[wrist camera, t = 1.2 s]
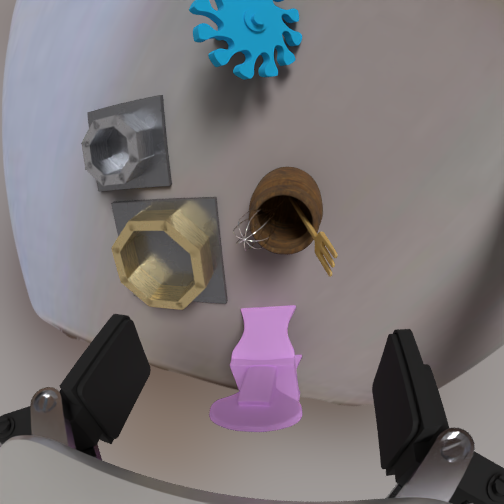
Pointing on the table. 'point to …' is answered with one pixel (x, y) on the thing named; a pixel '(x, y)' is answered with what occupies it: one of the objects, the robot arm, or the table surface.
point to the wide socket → (170, 251)
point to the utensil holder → (288, 215)
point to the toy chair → (262, 375)
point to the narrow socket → (128, 145)
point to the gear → (248, 33)
